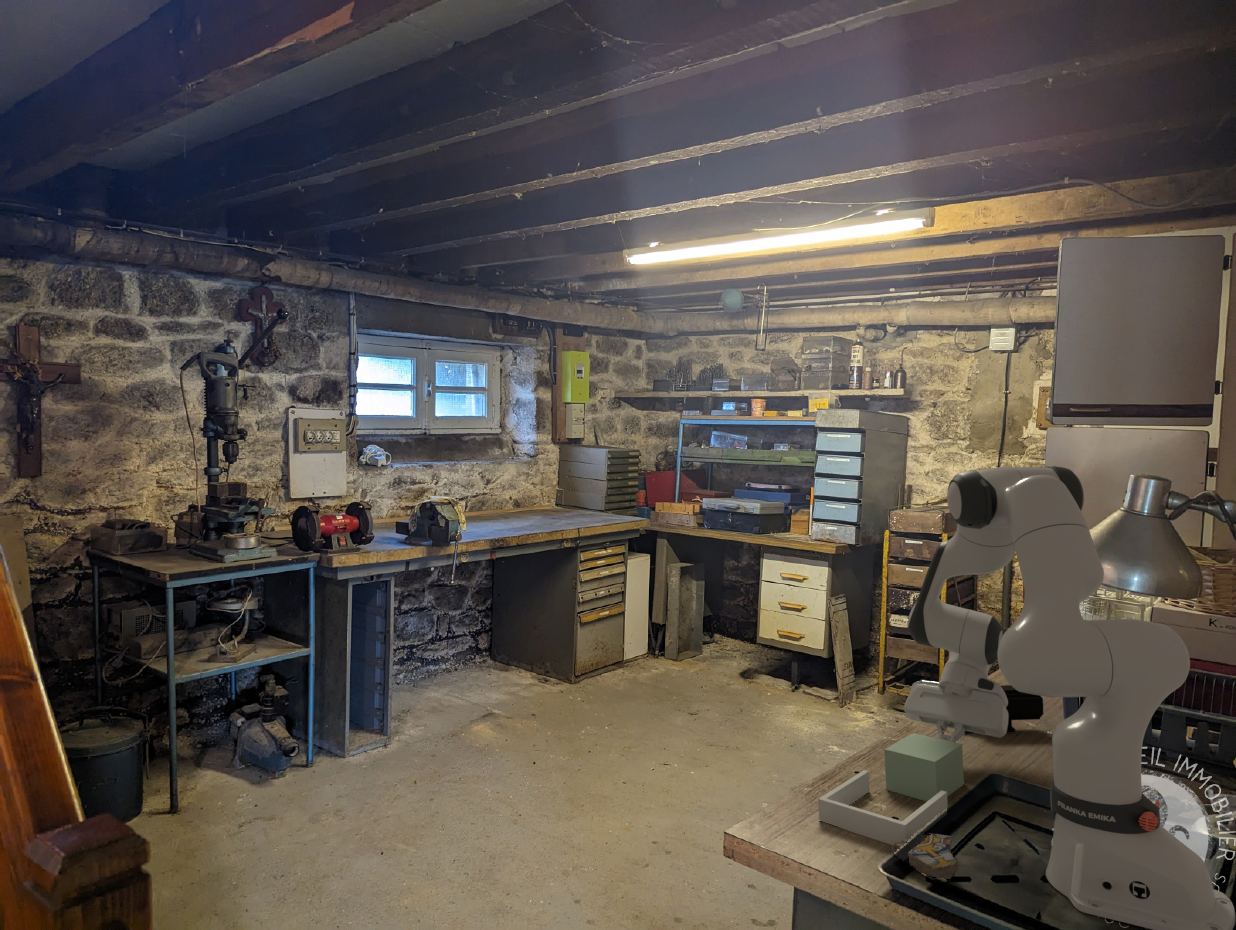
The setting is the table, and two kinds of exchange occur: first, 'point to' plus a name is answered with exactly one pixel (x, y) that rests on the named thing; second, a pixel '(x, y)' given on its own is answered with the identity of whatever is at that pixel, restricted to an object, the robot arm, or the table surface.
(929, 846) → the ceramic tile fragment
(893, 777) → the block
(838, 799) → the box
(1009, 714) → the security camera
